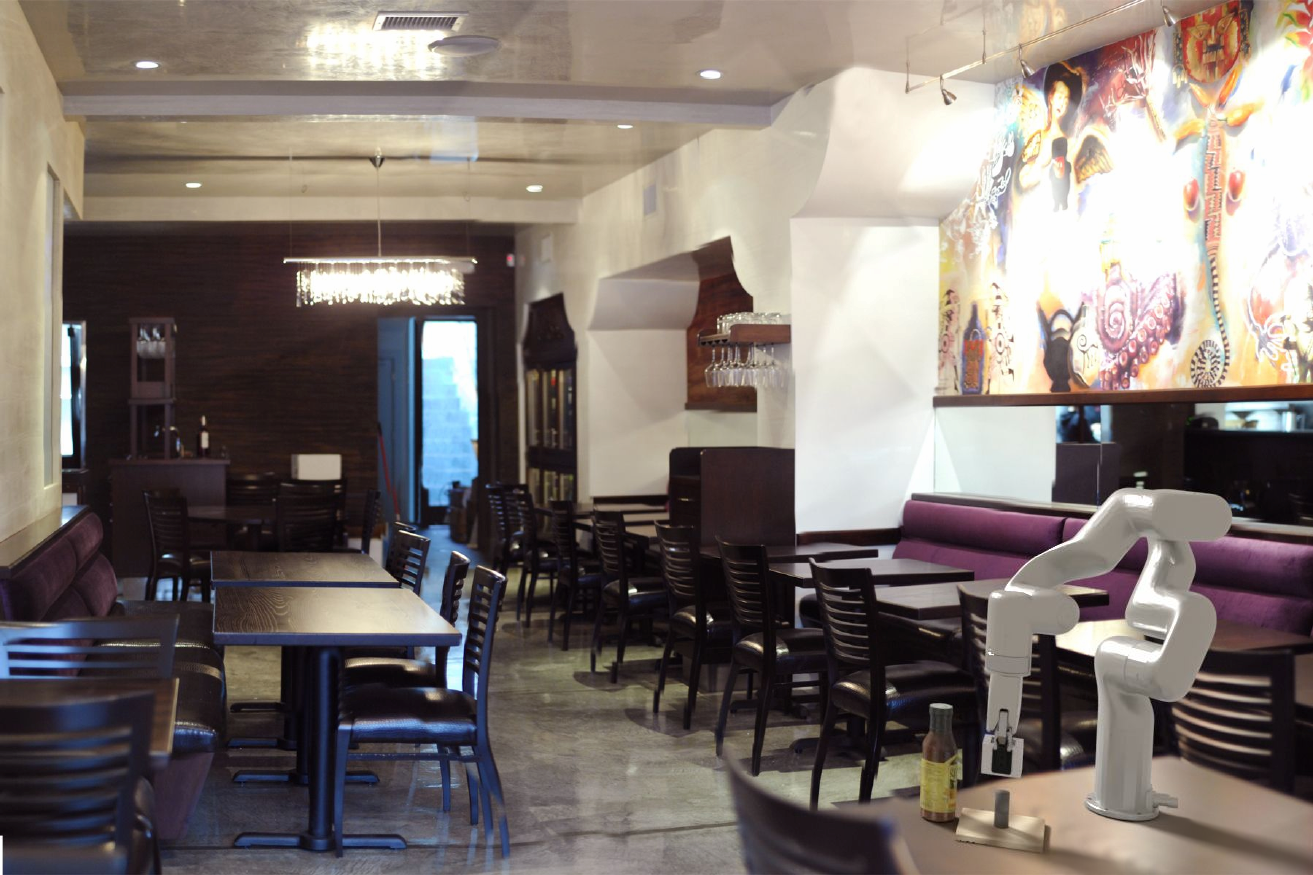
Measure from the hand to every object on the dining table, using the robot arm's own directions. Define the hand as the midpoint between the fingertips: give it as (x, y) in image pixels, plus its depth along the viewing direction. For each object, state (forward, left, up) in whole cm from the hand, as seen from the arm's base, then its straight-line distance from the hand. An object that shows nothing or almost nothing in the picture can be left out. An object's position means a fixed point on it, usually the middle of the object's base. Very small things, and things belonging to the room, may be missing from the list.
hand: (1002, 766), depth 206 cm
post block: (0, 0, -11) cm, 11 cm away
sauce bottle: (+11, -3, -12) cm, 16 cm away
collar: (0, 0, -1) cm, 1 cm away
